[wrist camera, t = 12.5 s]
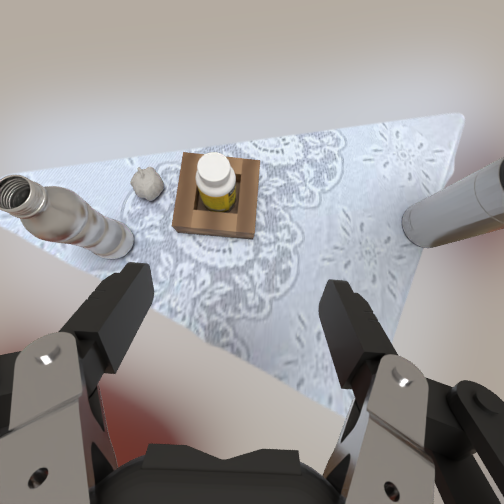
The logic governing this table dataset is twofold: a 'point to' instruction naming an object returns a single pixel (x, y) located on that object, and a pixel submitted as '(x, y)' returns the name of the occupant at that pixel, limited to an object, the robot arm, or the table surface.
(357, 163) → the table surface
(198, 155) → the wooden square tray
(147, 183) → the garlic
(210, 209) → the pill bottle
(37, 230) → the plastic bottle
